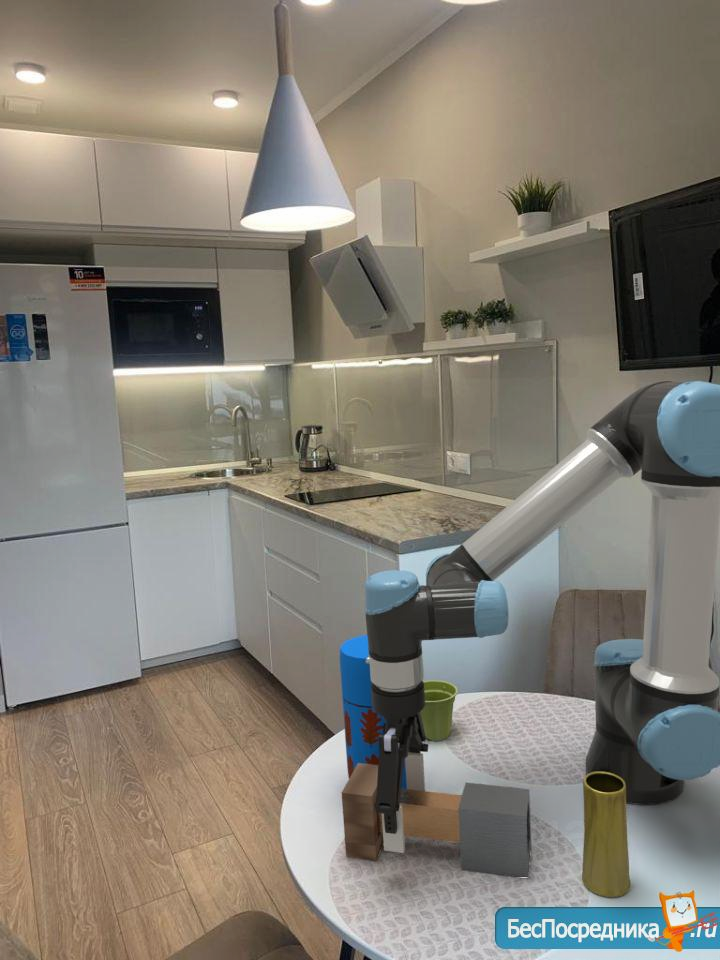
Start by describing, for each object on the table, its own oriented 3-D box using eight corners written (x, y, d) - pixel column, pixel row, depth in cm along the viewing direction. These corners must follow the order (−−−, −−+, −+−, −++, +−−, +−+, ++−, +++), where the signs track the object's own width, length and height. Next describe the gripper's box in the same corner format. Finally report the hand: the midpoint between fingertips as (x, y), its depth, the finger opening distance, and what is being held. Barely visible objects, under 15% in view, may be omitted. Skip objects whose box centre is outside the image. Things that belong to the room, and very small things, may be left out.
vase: (592, 860, 100) (590, 764, 98) (637, 877, 96) (636, 778, 94) (574, 885, 96) (572, 785, 94) (621, 905, 92) (619, 801, 90)
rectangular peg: (484, 830, 103) (483, 797, 103) (481, 846, 100) (480, 812, 99) (366, 815, 109) (364, 784, 108) (359, 829, 105) (357, 798, 105)
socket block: (390, 826, 110) (386, 766, 109) (376, 861, 103) (371, 796, 101) (362, 823, 112) (358, 762, 110) (346, 856, 104) (341, 792, 103)
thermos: (409, 810, 114) (400, 659, 111) (343, 806, 116) (332, 658, 113) (417, 773, 125) (409, 634, 121) (356, 770, 127) (347, 633, 123)
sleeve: (531, 848, 103) (529, 789, 102) (527, 879, 97) (525, 816, 96) (468, 840, 106) (465, 782, 105) (461, 869, 100) (458, 808, 99)
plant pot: (402, 727, 141) (400, 685, 140) (447, 717, 144) (445, 676, 142) (420, 750, 132) (418, 705, 131) (467, 739, 135) (465, 695, 134)
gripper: (393, 646, 115) (401, 771, 118) (344, 721, 91) (355, 874, 94) (440, 649, 113) (447, 775, 116) (402, 725, 89) (412, 882, 92)
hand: (406, 820), depth 105 cm, fingers open, 13 cm apart
